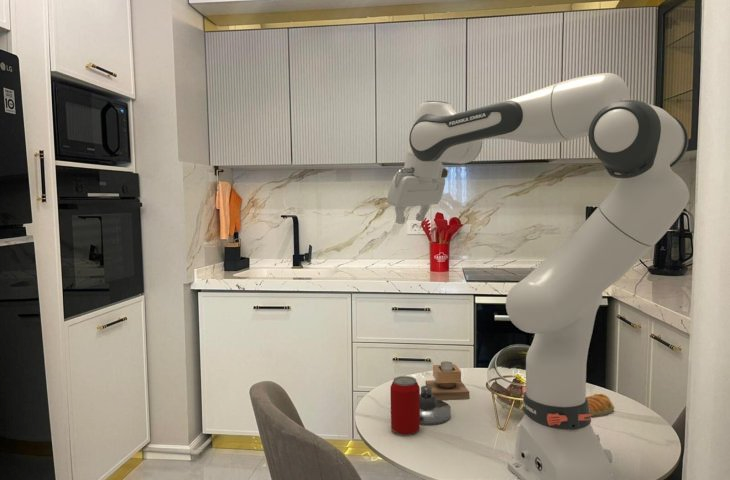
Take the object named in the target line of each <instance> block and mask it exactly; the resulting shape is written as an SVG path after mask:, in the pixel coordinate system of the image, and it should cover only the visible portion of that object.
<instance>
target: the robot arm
mask: <svg viewBox="0 0 730 480" xmlns="http://www.w3.org/2000/svg"><path fill="white" fill-rule="evenodd" d="M584 137H588V142H589V143H588V144H589V146H590V148H591V150H592V152H593V153H594V154H595V156H596V157H597V158H598V160H599V161H600V162H601V163H602V165H603V167H604V168H605V170H606V171H607V173H608V175H609V176H611V177H612V178H616V179H617V181H616V185H615V186H614V188H613V190H611V192H610V193H609V195H608V196H607V197H605V199H604V200H603V201H602V202H601V203H600V204H599V205H598V206H597V207H596V209H595V210H594V211H593V212H592V213H591V214H590V216H589V217H588V218H587V219H586V220H585V222H583V223H582V224H581V225H580V226H579V228H578V229H577V230H576V231H575V232H574V234H572V236H571V237H570V238H569V239H567V241H565V242H564V243H563V244H562V245H560V246H559V248H557V249H556V250H554V251H553V252H552V253H551V254H550V255H548V256H547V257H546V258H545V259H544V260H543V261H542V262H541V263H540V264H538V266H536V267H535V268H534V269H533V270H532V271H531V272H530V273H529V274H528V275H526V276H525V277H524V278H523V279H522V280H520V281H518V282H517V283H516V284H515V285H513V286H512V287H511V288H510V290H509V291H508V293H507V295H506V298H505V299H506V300H505V309H506V313H507V316H508V318H509V320H510V321H511V323H512V324H513V325H514V326H515V327H516V329H517V328H518V330H520V331H522V332H525V333H529V334H534V337H533V340H532V342H531V345H530V346H529V348H528V350H527V352H526V355H525V356H526V357H525V391H524V392H523V399H522V407H523V408H522V411H523V413H524V414H523V416H522V418H521V420H520V421H519V423H518V424H517V425H516V429H515V430H516V431H515V442H514V456H513V457H512V458H511V459H509V460H508V461H507V468H508V469H509V470H510V471H511V472H512V473H513V474H514V475H515V476H516V477H517V478H519V480H615V478H614V477H613V475H612V468H611V464H612V462H613V454H612V451H611V450H610V449H604V448H603V446H602V445H601V442H600V441H601V439H600V438H601V437H600V436H599V434H596V432H595V430H594V427H593V426H592V424H591V422H592V418H591V416H592V415H591V414H590V408H589V406H588V401H587V399H586V397H587V396H586V394H587V393H586V390H587V386H586V385H587V362H588V355H589V348H590V343H591V340H592V335H593V330H594V325H595V321H596V316H597V312H598V310H599V308H600V305H601V303H602V300H603V293H604V292H605V291H606V290H607V289H608V288H610V287H611V286H612V285H613V284H615V283H616V282H617V281H619V280H620V279H621V278H623V277H624V276H625V275H626V274H627V272H629V271H630V270H631V269H632V268H633V267H634V266H636V264H637V263H638V262H639V261H640V260H641V259H642V258H643V257H644V256H645V255H646V254H647V253H648V252H649V251H650V250H651V249H652V248H653V247H654V246H655V245H656V244H657V243H658V242H659V241H660V240H661V239H662V238H663V237H664V236H665V235H666V233H667V232H668V231H669V230H670V229H671V227H672V226H673V225H674V223H675V222H676V221H677V219H678V218H679V217H680V215H682V212H683V211H684V209H685V208H686V206H687V205H688V204H689V203H688V202H689V201H690V191H689V188H688V186H687V184H686V183H685V181H684V180H683V178H682V177H681V176H680V175H678V174H677V173H675V172H674V170H672V168H673V167H674V166H676V165H677V164H678V163H679V162H681V160H682V159H683V157H684V156H685V154H686V153H687V150H688V148H689V134H688V131H687V129H686V127H685V125H684V124H683V123H682V121H680V119H678V118H677V117H676V116H673V115H671V114H669V113H668V112H667V111H666V110H665V109H663V108H661V107H659V106H658V105H657V106H656V105H655V104H654V105H653V104H650V103H646V102H644V101H642V100H635V99H631V94H630V90H629V88H628V86H627V84H626V81H624V79H623V78H622V77H620V76H619V75H618V74H616V73H612V72H602V73H594V74H589V75H583V76H582V75H581V76H578V77H573V78H571V79H567V80H564V81H559V82H557V83H554V84H551V85H548V86H546V87H545V86H544V87H542V88H539V89H538V90H533V91H531V92H529V93H528V92H527V93H525V94H522V95H519V96H516V97H513V98H509V99H506V100H504V101H500V102H497V103H493V104H488V105H485V106H480V107H477V108H473V109H469V110H466V111H461V112H456V110H455V109H454V107H453V105H452V104H451V103H450V102H446V101H440V100H427V101H424V102H422V103H420V105H419V107H418V109H417V111H416V114H415V117H414V120H413V124H412V127H411V129H410V131H409V138H408V141H409V147H408V149H407V151H406V155H405V160H404V166H403V167H401V168H400V169H399V170H398V171H397V172H396V173H395V175H394V176H393V178H392V181H391V183H390V186H389V190H388V193H387V197H386V201H387V202H386V203H387V204H388V205H389V206H392V207H394V209H395V210H394V211H395V215H396V216H395V217H396V218H395V223H396V224H399V225H403V224H404V223H405V221H406V219H407V218H406V216H405V211H406V209H407V207H418V206H420V209H419V211H418V213H417V212H416V217H415V220H416V221H418V222H424V221H425V219H426V215H427V213H428V212H429V210H430V208H431V206H432V205H438V204H439V203H440V201H441V199H442V196H443V193H444V189H445V185H446V179H447V178H448V177H449V172H450V171H449V169H448V168H446V166H444V165H443V163H450V164H459V165H461V164H468V163H472V162H473V161H475V160H476V159H477V157H478V156H479V154H480V153H481V150H482V146H483V141H484V140H495V139H496V140H497V139H498V140H499V139H500V140H508V141H515V142H516V141H517V142H521V143H527V144H533V145H534V144H535V145H537V144H538V145H546V144H556V143H557V144H558V143H563V142H568V141H572V140H575V139H576V140H577V139H580V138H584Z"/></svg>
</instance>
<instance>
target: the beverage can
mask: <svg viewBox="0 0 730 480" xmlns="http://www.w3.org/2000/svg"><path fill="white" fill-rule="evenodd" d="M389 388H390V428H391V430H392V431H393V432H395V433H396V434H398V435H402V436H412V435H413V434H415V433H416V432H418V431H419V430H420V429H421V425H420V394H421V387H420V385H419V383H418V382H417V379H416V378H415V377H413V376H406V375H401V376H397V377H394V378H393V381H392V383H391V385H390V387H389Z"/></svg>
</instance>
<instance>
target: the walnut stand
mask: <svg viewBox="0 0 730 480" xmlns="http://www.w3.org/2000/svg"><path fill="white" fill-rule="evenodd" d="M440 365H441V371H453V362H452V361H446V360H445V361H441V362H440ZM425 386H430V387H431V394H432V395H434V396H435V399H437V400H441V401H452V400H453V401H455V400H470V391H469V389H468V388H467V387H466V385H465V384H464V383H463V382H462V380H461V382H460V383H437V381H436V380H435V379H431V380H430V379H428V380H425Z"/></svg>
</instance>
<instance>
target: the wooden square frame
mask: <svg viewBox="0 0 730 480" xmlns="http://www.w3.org/2000/svg"><path fill="white" fill-rule="evenodd" d="M452 364H453V363H452ZM432 376H433V378H434V380H436V381H437V383H460V382H461V381H462V371H461V369H459V367H458V366H457V365H456V364H453V371H441V364H433V365H432Z"/></svg>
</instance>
